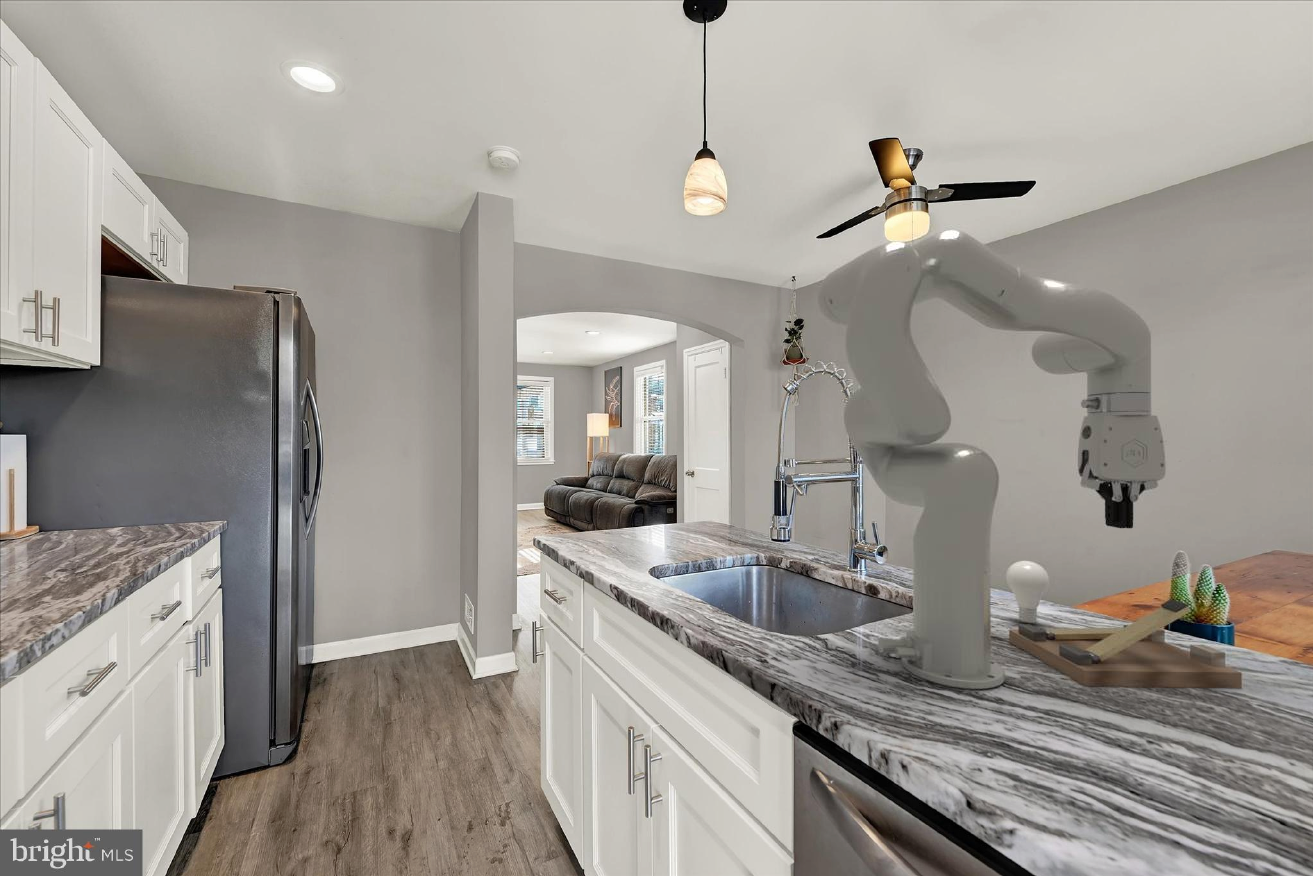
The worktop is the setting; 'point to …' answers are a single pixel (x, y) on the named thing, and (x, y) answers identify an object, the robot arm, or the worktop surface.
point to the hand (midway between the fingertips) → (1119, 526)
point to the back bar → (1081, 633)
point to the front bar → (1138, 630)
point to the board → (1131, 662)
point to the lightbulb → (1027, 587)
